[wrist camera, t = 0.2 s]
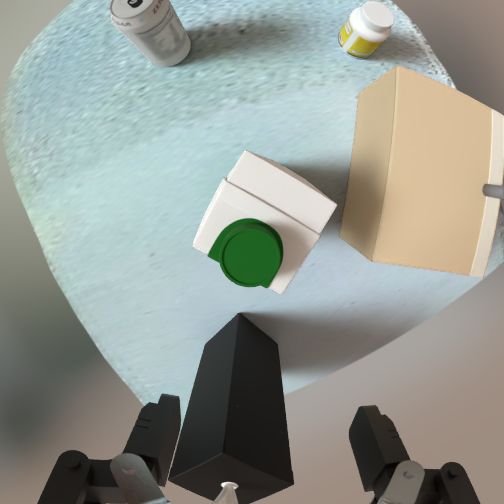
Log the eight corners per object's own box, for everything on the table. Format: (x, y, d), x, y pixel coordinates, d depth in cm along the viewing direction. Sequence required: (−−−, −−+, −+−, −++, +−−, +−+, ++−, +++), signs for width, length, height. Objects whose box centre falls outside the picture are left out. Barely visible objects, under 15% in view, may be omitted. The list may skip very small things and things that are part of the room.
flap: (396, 67, 22) (432, 42, 15) (502, 118, 23) (543, 113, 16) (372, 259, 27) (405, 286, 20) (481, 275, 28) (519, 297, 20)
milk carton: (214, 215, 39) (173, 256, 19) (248, 154, 37) (241, 131, 17) (272, 248, 40) (288, 317, 20) (308, 189, 38) (360, 204, 18)
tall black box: (239, 311, 42) (219, 486, 15) (278, 343, 43) (297, 514, 16) (204, 344, 43) (160, 508, 16) (242, 372, 45) (232, 534, 18)
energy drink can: (175, 26, 32) (142, -30, 17) (200, 50, 33) (174, -7, 18) (142, 52, 33) (95, 7, 18) (166, 77, 34) (122, 33, 19)
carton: (358, 93, 34) (395, 66, 22) (451, 125, 34) (502, 116, 23) (338, 236, 39) (370, 261, 27) (432, 251, 39) (480, 276, 28)
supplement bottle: (379, 50, 32) (408, 23, 23) (354, 65, 33) (380, 39, 24) (354, 23, 31) (377, -9, 22) (328, 37, 32) (347, 5, 23)
